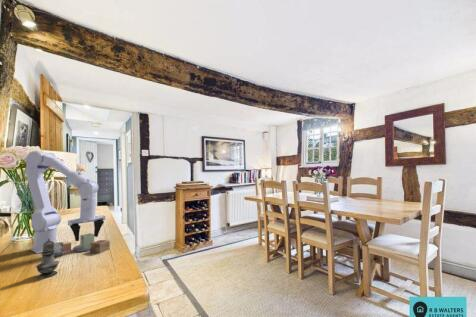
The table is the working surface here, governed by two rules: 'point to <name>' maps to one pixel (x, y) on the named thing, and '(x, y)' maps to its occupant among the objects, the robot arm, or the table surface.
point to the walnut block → (100, 246)
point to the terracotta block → (66, 246)
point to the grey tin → (58, 249)
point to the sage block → (86, 240)
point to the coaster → (81, 249)
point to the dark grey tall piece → (47, 261)
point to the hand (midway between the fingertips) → (86, 238)
